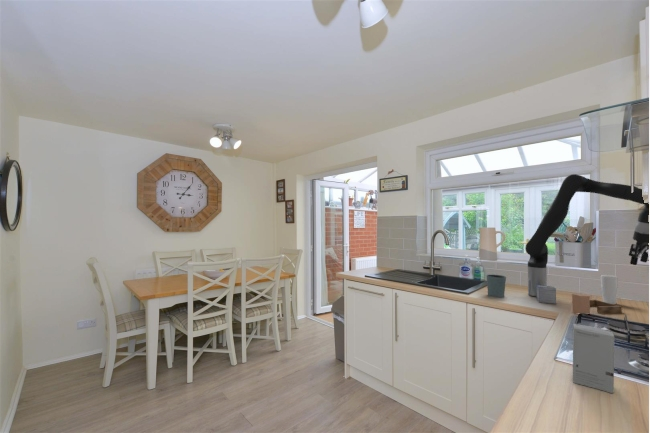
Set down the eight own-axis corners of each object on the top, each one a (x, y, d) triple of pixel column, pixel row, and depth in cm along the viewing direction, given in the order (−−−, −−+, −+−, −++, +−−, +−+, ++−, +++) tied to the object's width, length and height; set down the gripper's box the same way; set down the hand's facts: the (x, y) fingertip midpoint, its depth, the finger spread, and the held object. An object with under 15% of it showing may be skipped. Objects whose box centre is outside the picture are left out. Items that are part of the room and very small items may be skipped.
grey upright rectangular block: (572, 383, 79) (571, 328, 80) (572, 374, 84) (571, 322, 84) (616, 394, 74) (614, 335, 74) (613, 384, 78) (612, 329, 79)
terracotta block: (581, 315, 138) (580, 296, 139) (572, 312, 143) (572, 293, 143) (590, 315, 139) (589, 296, 139) (581, 312, 143) (580, 293, 144)
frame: (599, 313, 141) (599, 307, 142) (574, 305, 154) (574, 300, 155) (621, 312, 142) (621, 306, 142) (595, 305, 155) (595, 299, 155)
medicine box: (554, 302, 162) (553, 286, 162) (556, 304, 158) (556, 288, 158) (536, 300, 165) (536, 285, 166) (538, 302, 161) (538, 286, 162)
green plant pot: (485, 293, 183) (485, 273, 183) (504, 294, 179) (504, 275, 179) (488, 296, 173) (487, 276, 174) (507, 298, 170) (507, 277, 170)
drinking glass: (621, 305, 156) (621, 277, 156) (607, 304, 157) (606, 276, 157) (612, 301, 162) (611, 274, 163) (597, 301, 164) (597, 274, 164)
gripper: (644, 227, 145) (636, 258, 149) (626, 231, 141) (619, 262, 144) (665, 231, 138) (657, 263, 142) (648, 235, 134) (640, 268, 137)
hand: (638, 263), depth 143 cm, fingers open, 8 cm apart
